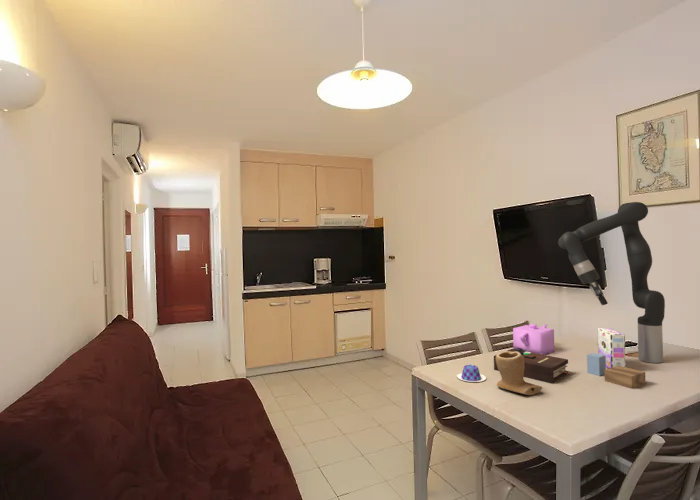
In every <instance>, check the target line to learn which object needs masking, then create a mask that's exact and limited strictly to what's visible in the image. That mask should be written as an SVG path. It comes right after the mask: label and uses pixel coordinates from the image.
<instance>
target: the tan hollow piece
mask: <svg viewBox="0 0 700 500" xmlns="http://www.w3.org/2000/svg"><path fill="white" fill-rule="evenodd" d="M495 355H496V364H497V367H498V370H499V371H498V372H499V374H500V376H501V380H499V381H497V382H496V386H497V387H498V388H501V389H503V390H506V391H511V392H514V393H517V394H521V395H527V396H533V395H537V394H538V393H539V392H541V391H542V389H543V387H542V385H539V384H538V385H537V384H533V383H530V382H527V381H526V380H525V377H523V374H524V358H523V356H522V355H521V354H520V353H519V352H517V351H514V352H510V351H508V350H505V351H502V352H498V353H497V354H495Z"/></svg>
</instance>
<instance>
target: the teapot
mask: <svg viewBox="0 0 700 500" xmlns="http://www.w3.org/2000/svg"><path fill="white" fill-rule="evenodd" d="M547 326H548V324H543V325H542V326H538V325H537V324H535V323H529V324H524V325H522V326H521V325H520V326H516V327H512V339H513V340H512V341H513V342H512V344H513V347H512V349H518V348H521V349H524V350H525V351H526V352H531V353H537V354H542V355H549V354H551V353H554V352H555V329H554V328H549V327H547ZM518 350H519V349H518Z"/></svg>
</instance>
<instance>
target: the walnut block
mask: <svg viewBox="0 0 700 500" xmlns="http://www.w3.org/2000/svg"><path fill="white" fill-rule="evenodd" d="M604 382H606V383H609V382H610V384H612V385H613V384H614V385H618V386H620V387H624V388H626V389H627V388H628V389H630V390H631V389H636V388H638V387H640V386H643V385H646V383H647V382H646V371H642V370H638V369H634V368H630V367H626V366H625V367H622V366H615V367H612V368H606V369H605V374H604Z"/></svg>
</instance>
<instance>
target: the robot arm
mask: <svg viewBox="0 0 700 500" xmlns="http://www.w3.org/2000/svg"><path fill="white" fill-rule="evenodd" d="M648 214H649V208H648V207H647V205H646V204H645V203H643V202H641V201H632V202H624V203H623V204H621V205H619V206H618V208H617V212H616V213H614V214H611V215H609V216H606V217H603V218H600V219H597V220H594V221H591V222H589V223H586V224H584V225H582V226H580V227H578V228H577V229H576V230H574V231H566V232H565V233H563V234H561V236H560V237H559V239H558V242H557V244H558V247H560V248H561V249H562V250H567V253H568V259H569V261H570V263H571V265H572V266H573V268H574V271H575V273H576V274H577V277H578V279H579V280H580V282H581V284H582V285H585V284H589V289H590V291H591V292H592V293H593V295H594V296H595V297H596V298H597V299H598V301H599V303H600V304H601V306H605V305H607V304H608V301H607V299H606V297H605V296H604V293H603V290H602V288H601V285H600V283H599V282H597V281H596V280H599V279H600V275H599V273H598V272H597V270H596V268H595V267H594V265H593V263H592V262H591V261H590V259H589V258H588V256H587V254H586V253H585V250H584V248H583V245H582V243H584V242H586V241H589V240H592V239H594V238H596V237H599V236H601V235H603V234H605V233H607V232H609V231H612V230H614V229H616V228H621V231H622V234H623V240H624V244H625V250H626V257H627V263H628V265H629V272H630V278H631V291H632V292H631V293H632V301H633V304H634V305H635V306H636V307H637V308H639V309H643V310H644V313H643V315H641V316H638V317H637V349H638V350H637V353H638V355H637V356H638V360H639V361H641V362H646V363H652V364H662V363H663V362H664V350H663V348H664V345H663V343H664V342H663V338H664V337H663V336H664V335H663V322H664V319H665V308H666V303H665V302H666V301H665V300H666V299H665V297H664V295H663V293H661V292H660V291H658V290H651V289H649V284H648V276H649V273H650V270H651V269H652V265H653V257H652V251H651V247H650V245H649V243H648V242H647V240H646V239H645V237H644V235H643V234H642V232H641V229H640V225H639V222H640V221H642V220H644V219H645V218H646V217H647V216H648Z"/></svg>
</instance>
